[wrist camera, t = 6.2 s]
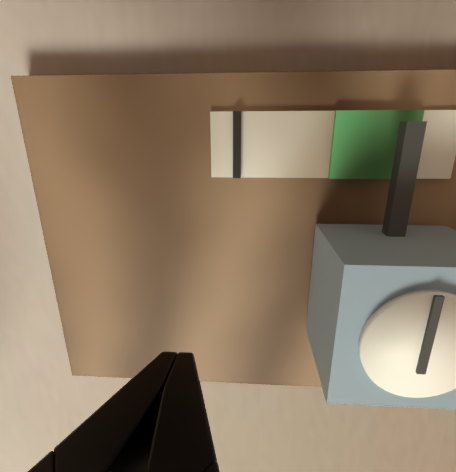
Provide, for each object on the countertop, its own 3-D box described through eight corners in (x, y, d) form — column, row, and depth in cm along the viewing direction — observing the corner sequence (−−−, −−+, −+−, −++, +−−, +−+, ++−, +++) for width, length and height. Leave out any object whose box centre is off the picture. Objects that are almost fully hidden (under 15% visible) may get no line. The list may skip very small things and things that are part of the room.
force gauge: (305, 329, 14) (329, 413, 10) (324, 122, 11) (368, 119, 7) (468, 335, 14) (562, 425, 10) (530, 121, 11) (704, 117, 7)
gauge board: (81, 361, 17) (0, 476, 12) (28, 79, 13) (-150, 40, 7) (502, 380, 16) (643, 519, 10) (612, 71, 11) (973, 16, 6)
